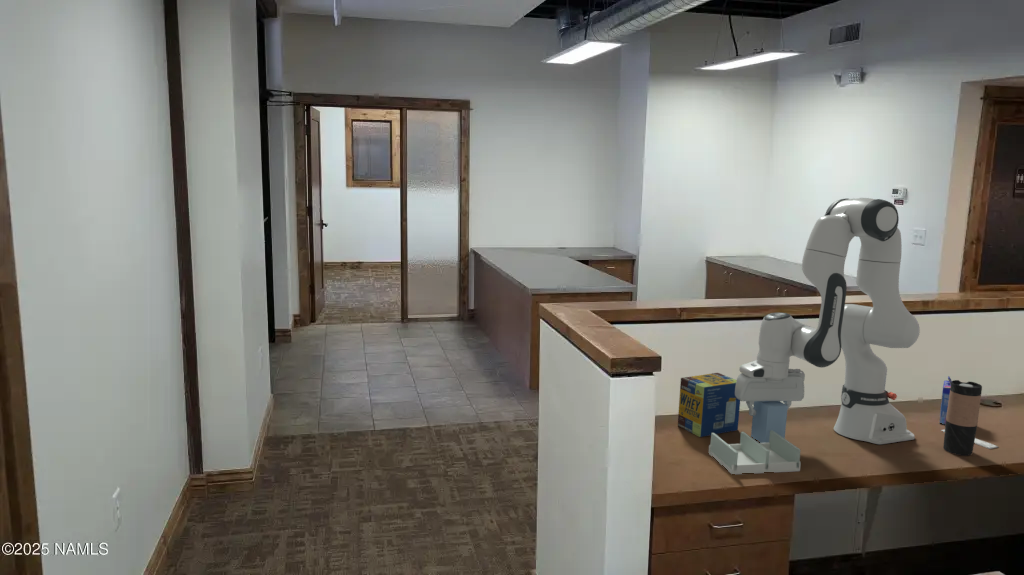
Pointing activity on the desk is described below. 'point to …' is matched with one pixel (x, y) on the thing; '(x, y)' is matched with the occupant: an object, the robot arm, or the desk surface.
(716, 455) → the slot rack
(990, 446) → the flat white bar
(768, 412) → the blue block
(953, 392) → the travel mug
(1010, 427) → the desk surface
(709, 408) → the protein box
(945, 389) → the ink cartridge box
